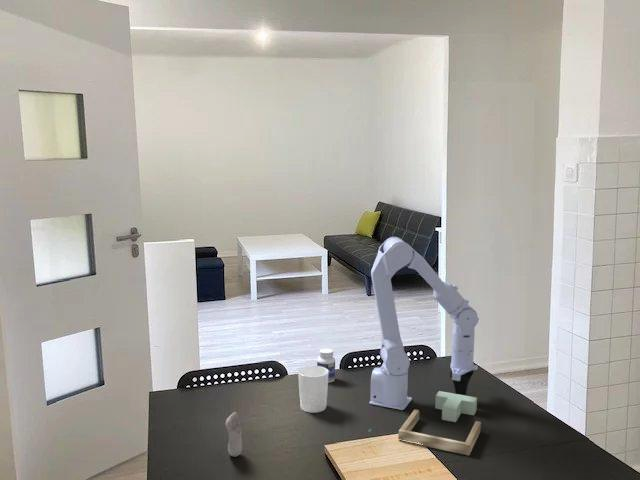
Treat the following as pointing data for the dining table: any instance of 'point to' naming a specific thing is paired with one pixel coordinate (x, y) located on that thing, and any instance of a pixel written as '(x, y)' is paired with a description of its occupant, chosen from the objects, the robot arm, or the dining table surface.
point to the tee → (455, 405)
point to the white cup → (313, 388)
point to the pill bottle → (327, 362)
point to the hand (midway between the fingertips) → (460, 397)
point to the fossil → (234, 434)
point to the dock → (435, 441)
